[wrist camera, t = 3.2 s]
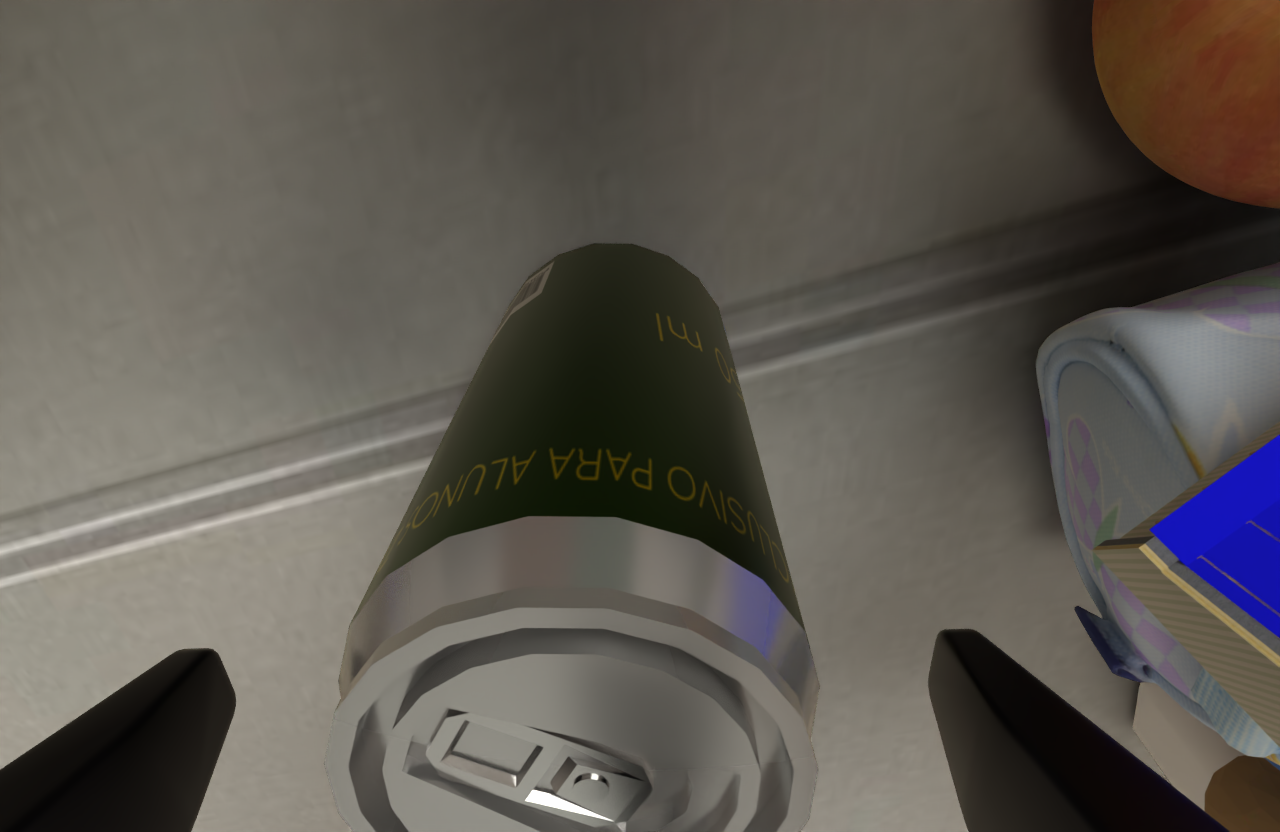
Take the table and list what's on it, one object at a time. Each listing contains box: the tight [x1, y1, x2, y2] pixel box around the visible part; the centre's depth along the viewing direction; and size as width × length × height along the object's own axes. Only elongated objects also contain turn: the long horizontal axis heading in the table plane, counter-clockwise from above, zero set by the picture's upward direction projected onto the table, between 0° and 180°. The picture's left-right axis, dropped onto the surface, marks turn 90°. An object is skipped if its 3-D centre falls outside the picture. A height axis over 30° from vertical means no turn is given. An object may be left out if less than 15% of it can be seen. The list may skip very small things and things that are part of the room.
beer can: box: [324, 244, 820, 832], centre depth 13 cm, size 5×5×12 cm
